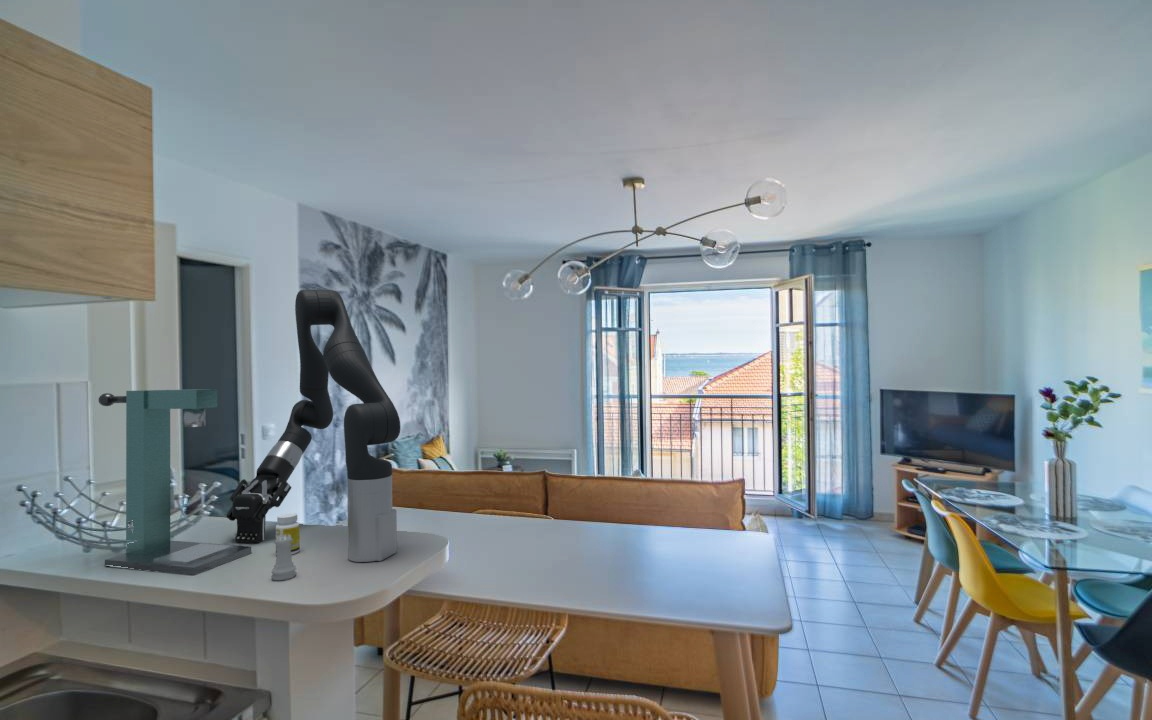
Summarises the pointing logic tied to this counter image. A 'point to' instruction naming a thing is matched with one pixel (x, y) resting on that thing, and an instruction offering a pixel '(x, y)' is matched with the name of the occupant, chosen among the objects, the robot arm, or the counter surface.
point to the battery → (248, 518)
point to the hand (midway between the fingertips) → (242, 519)
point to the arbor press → (161, 483)
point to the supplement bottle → (289, 530)
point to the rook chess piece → (283, 560)
